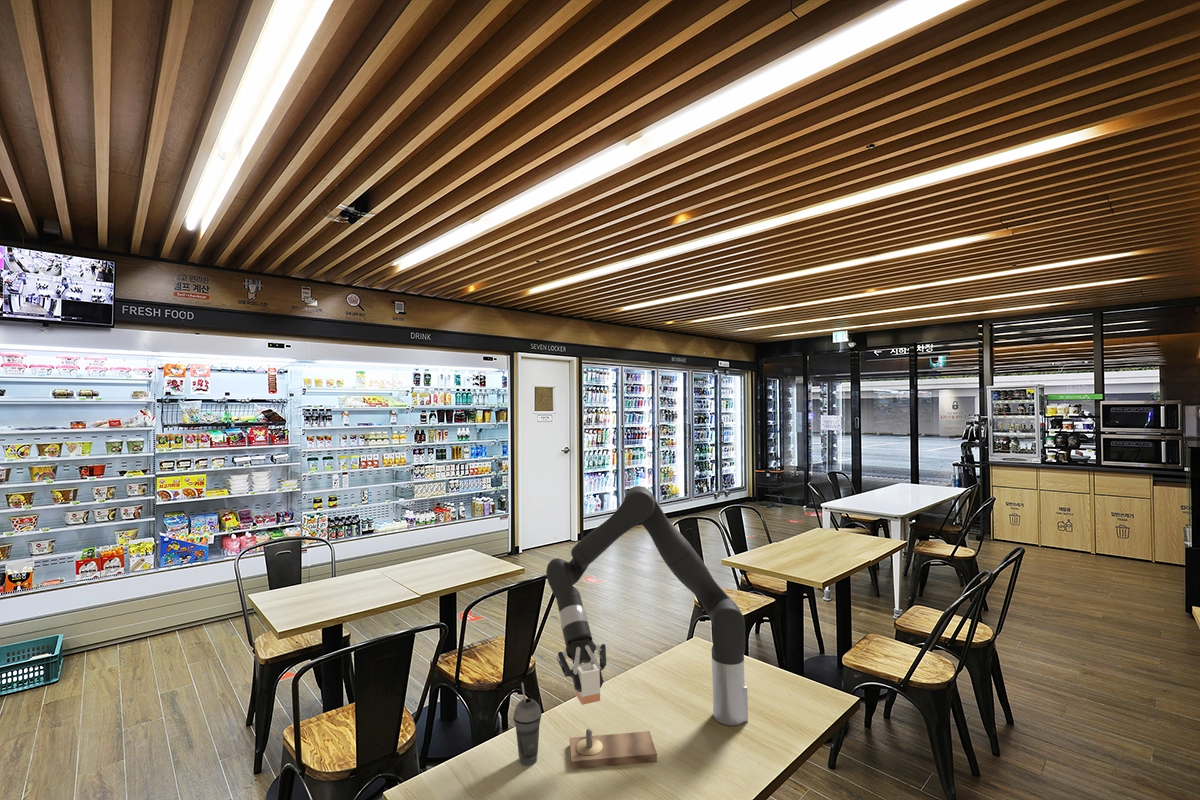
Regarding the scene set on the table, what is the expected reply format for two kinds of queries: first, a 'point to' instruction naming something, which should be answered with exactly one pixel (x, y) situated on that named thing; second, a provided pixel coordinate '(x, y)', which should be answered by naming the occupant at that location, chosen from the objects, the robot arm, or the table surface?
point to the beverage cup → (527, 729)
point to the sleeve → (589, 683)
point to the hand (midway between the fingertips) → (590, 688)
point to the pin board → (611, 749)
